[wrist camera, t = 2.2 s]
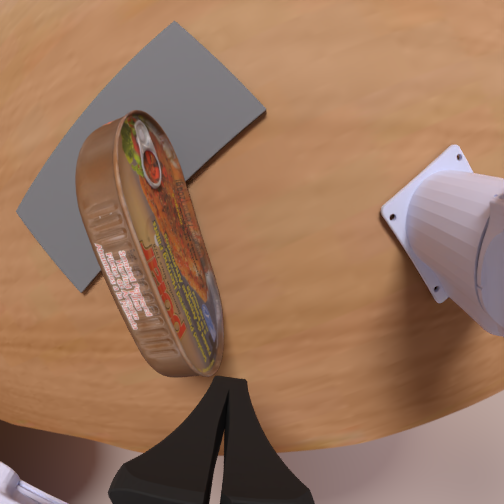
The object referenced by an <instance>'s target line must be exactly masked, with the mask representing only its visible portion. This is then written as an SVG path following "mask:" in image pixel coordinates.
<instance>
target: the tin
mask: <svg viewBox="0 0 504 504" xmlns="http://www.w3.org/2000/svg"><path fill="white" fill-rule="evenodd" d="M75 186H76V196H77V203H78V208H79V212H80V215H81V218H82V222H83V224H84V227H85V230H86V232H87V235H88V238H89V241H90V243H91V246H92V249H93V251H94V254H95V256H96V259H97V261H98V264H99V266H100V269H101V271H102V273H103V276H104V278H105V280H106V283H107V285H108V287H109V290H110V292H111V294H112V296H113V298H114V301H115V303H116V305H117V307H118V309H119V311H120V313H121V315H122V317H123V319H124V321H125V323H126V325H127V328H128V330H129V331H130V333H131V335H132V337H133V339H134V341H135V343H136V345H137V347H138V349H139V350H140V352H141V354H142V356H143V357H144V359H145V360H146V361H147V363H148V364H149V365H150V366H151V367H152V368H153V369H154V370H156V371H157V372H158V373H160V374H162V375H164V376H168V377H190V376H205V377H209V376H212V375H214V374H215V373H216V372H217V371H218V369H219V366H220V364H221V360H222V357H223V348H224V329H223V314H222V306H221V300H220V295H219V291H218V287H217V283H216V279H215V276H214V273H213V270H212V266H211V263H210V260H209V257H208V254H207V251H206V248H205V245H204V241H203V239H202V235H201V232H200V229H199V226H198V223H197V219H196V216H195V213H194V209H193V206H192V202H191V199H190V196H189V193H188V189H187V186H186V182H185V179H184V176H183V172H182V169H181V166H180V163H179V160H178V158H177V156H176V153H175V151H174V149H173V146H172V144H171V142H170V140H169V138H168V137H167V135H166V133H165V132H164V130H163V129H162V127H161V126H160V125H159V124H158V122H157V121H156V120H155V119H154V118H153V117H152V116H150V115H149V114H148V113H146V112H144V111H142V110H133V111H130V112H129V113H127V114H126V115H125V116H123V117H121V118H119V119H116V120H114V121H112V122H109V123H107V124H105V125H103V126H101V127H99V128H98V129H96V130H95V131H93V132H92V133H91V134H90V135H89V136H88V137H87V138H86V140H85V141H84V143H83V145H82V147H81V149H80V152H79V155H78V159H77V164H76V174H75Z"/></svg>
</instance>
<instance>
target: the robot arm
mask: <svg viewBox="0 0 504 504" xmlns="http://www.w3.org/2000/svg"><path fill="white" fill-rule="evenodd" d="M457 155H459V160H457ZM391 214H394V219H393V220H390V215H391ZM381 215H382V217H383V218H384V219H385V221H386V222H387V224H388V225H389V227H390V228H391V230H392V231H393V233H394V234H395V236H396V237H397V239H398V240H399V242H400V243H401V245H402V246H403V248H404V249H405V251H406V253H407V254H408V256H409V257H410V259H411V261H412V262H413V264H414V265H415V267H416V269H417V270H418V272H419V274H420V275H421V277H422V279H423V280H424V282H425V284H426V285H427V287H428V289H429V291H430V292H431V294H432V296H433V298H434V299H435V301H436V302H437V303H442V302H444V301H445V300H446V299H447V298H448V297H449V298H451V299H452V300H453V301H454V302H455V303H456V304H457V305H458V306H459V307H461V308H462V309H463V310H464V311H465V312H466V313H467V314H468V315H469V316H470V317H471V318H472V319H474V320H475V321H476V322H477V323H478V324H479V325H480V326H481V327H482V328H483V329H484V330H486V331H487V332H488V333H490V334H493V335H497V336H503V337H504V179H503V178H498V177H493V176H487V175H482V174H476V173H473V171H472V169H471V167H470V165H469V163H468V161H467V160H466V158H465V156H464V154H463V152H462V151H461V149H460V147H459V146H458V145H451V146H449V147H448V148H447V149H446V150H445V151H444V152H443V153H442V154H441V155H440V156H438V157H437V158H436V159H435V160H434V161H433V162H432V163H431V164H430V165H429V166H427V167H426V168H425V169H424V170H423V171H422V172H421V173H420V174H418V175H417V176H416V177H415V178H414V179H413V180H412V181H411V182H409V183H408V184H407V185H406V186H405V187H404V188H403V189H401V190H400V191H399V192H398V193H397V194H396V195H394V196H393V197H392V198H391V199H390V200H389V201H387V202H386V203H385V204H384V205H383V206H382V207H381ZM436 286H437V289H436V290H434V288H435V287H436ZM224 429H225V430H224ZM223 433H224V474H223V483H222V491H221V499H220V504H315V503H314V500H313V497H312V495H311V492H310V490H309V488H307V487H306V486H305V485H304V484H303V483H302V482H301V481H300V480H299V479H298V478H297V477H296V476H295V475H294V474H293V473H292V472H291V471H290V470H289V469H288V467H287V466H286V465H285V464H284V462H283V461H282V460H281V459H280V457H279V456H278V455H277V453H276V452H275V450H274V449H273V447H272V446H271V444H270V443H269V441H268V439H267V437H266V436H265V434H264V432H263V430H262V428H261V426H260V424H259V421H258V419H257V417H256V414H255V411H254V409H253V406H252V403H251V400H250V396H249V392H248V386H247V381H246V380H245V379H238V378H230V377H223V376H215V377H214V379H213V381H212V383H211V385H210V387H209V389H208V390H207V392H206V394H205V395H204V397H203V398H202V400H201V401H200V402H199V404H198V405H197V406H196V408H195V409H194V410H193V411H192V412H191V414H190V415H189V416H188V417H187V418H186V419H185V420H184V422H183V423H182V424H181V425H180V426H179V427H178V428H176V429H175V430H174V431H173V432H172V433H171V434H170V435H169V436H167V437H166V438H165V439H164V440H162V441H161V442H160V443H158V444H157V445H155V446H154V447H152V448H151V449H149V450H148V451H146V452H145V453H143V454H142V455H140V456H138V457H136V458H134V459H132V460H130V461H128V462H126V463H124V464H123V465H122V466H121V468H120V469H119V470H118V472H117V474H116V475H115V477H114V479H113V481H112V483H111V486H110V488H109V491H108V495H109V498H110V499H111V501H112V503H113V504H209V501H210V494H211V487H212V480H213V473H214V468H215V464H216V460H217V456H218V452H219V449H220V445H221V441H222V437H223ZM0 504H68V503H66V502H64V501H62V500H59V499H57V498H55V497H53V496H51V495H49V494H47V493H45V492H43V491H41V490H39V489H37V488H35V487H33V486H31V485H30V484H28V483H26V482H24V481H22V480H21V479H20V478H19V476H18V475H17V473H16V472H15V471H14V470H13V469H11V468H10V467H9V466H7V465H5V464H4V463H2V462H0Z"/></svg>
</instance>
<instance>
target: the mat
mask: <svg viewBox="0 0 504 504" xmlns="http://www.w3.org/2000/svg"><path fill="white" fill-rule="evenodd" d="M133 110H142V111H144V112H146V113H148V114H149V115H150V116H152V117H153V118H154V119H155V120H156V121H157V122H158V124H159V125H160V126H161V127H162V129H163V130H164V132H165V133H166V135H167V137H168V138H169V140H170V142H171V144H172V146H173V149H174V151H175V153H176V156H177V158H178V160H179V163H180V166H181V169H182V172H183V176H184V179H185V182H186V181H187V180H188V179H189V178H190V177H191V176H192V175H193V174H195V173H196V172H197V171H198V170H199V169H200V168H201V167H202V166H203V165H204V164H205V163H206V162H207V161H208V160H210V159H211V158H212V157H213V156H214V155H215V154H216V153H217V152H218V151H220V150H221V149H222V148H223V147H224V146H225V145H226V144H227V143H228V142H230V141H231V140H232V139H233V138H234V137H235V136H236V135H238V134H239V133H240V132H241V131H242V130H243V129H245V128H246V127H247V126H248V125H249V124H250V123H252V122H253V121H254V120H255V119H256V118H258V117H259V116H260V115H261V114H262V113H264V112H265V111H266V108H265V107H264V106H263V105H262V104H261V103H260V102H259V101H258V100H257V99H256V98H255V97H254V96H253V94H252V93H251V92H250V91H249V90H248V89H247V88H246V87H245V86H244V85H243V84H242V83H241V82H240V81H239V80H238V79H237V78H236V77H235V76H234V75H233V74H232V73H231V72H230V71H229V70H228V69H227V68H226V67H225V66H224V65H223V64H222V63H221V62H220V61H218V60H217V59H216V58H215V57H214V56H213V55H212V54H211V53H210V52H209V51H208V50H207V49H206V48H205V47H204V46H202V45H201V44H200V43H199V42H198V41H197V40H196V39H195V38H194V37H193V36H191V35H190V34H189V33H188V32H187V31H186V30H185V29H184V28H182V27H181V26H180V25H179V24H178V23H177V22H175V21H174V22H172V23H171V24H170V25H169V26H168V27H167V28H165V29H164V30H163V31H162V32H161V33H160V34H158V35H157V36H156V37H155V38H154V39H153V40H152V41H151V42H149V43H148V44H147V45H146V46H145V47H144V48H143V49H142V50H141V51H140V52H139V53H138V54H137V55H136V56H135V57H134V58H133V59H131V60H130V61H129V62H128V63H127V64H126V65H125V66H124V67H123V69H122V70H121V71H120V72H119V73H118V74H117V75H116V76H115V77H114V78H113V79H112V80H111V81H110V82H109V83H108V84H107V85H106V87H105V88H104V89H103V90H102V91H101V92H100V93H99V94H98V96H97V97H96V98H95V99H94V100H93V101H92V102H91V104H90V105H89V106H88V107H87V108H86V110H85V111H84V112H83V113H82V114H81V116H80V117H79V118H78V119H77V121H76V122H75V123H74V125H73V126H72V127H71V128H70V130H69V131H68V132H67V134H66V135H65V136H64V138H63V139H62V140H61V142H60V143H59V144H58V146H57V147H56V149H55V150H54V152H53V153H52V154H51V156H50V157H49V159H48V160H47V162H46V163H45V165H44V166H43V168H42V169H41V171H40V172H39V174H38V175H37V177H36V178H35V180H34V182H33V183H32V185H31V187H30V188H29V190H28V191H27V193H26V195H25V197H24V198H23V200H22V202H21V203H20V205H19V207H18V209H17V211H16V212H17V214H18V215H19V217H20V218H21V219H22V221H23V222H24V224H25V225H26V226H27V228H28V229H29V230H30V232H31V233H32V234H33V236H34V237H35V238H36V240H37V241H38V242H39V243H40V245H41V246H42V247H43V249H44V250H45V251H46V252H47V254H48V255H49V256H50V257H51V259H52V260H53V261H54V262H55V263H56V265H57V266H58V267H59V268H60V269H61V271H62V272H63V273H64V274H65V275H66V276H67V278H68V279H69V280H70V281H71V282H72V283H73V284H74V286H75V287H76V288H77V289H78V290H79V291H80V292H81V293H82V292H83V291H84V290H85V289H86V287H87V286H88V285H89V284H90V283H91V282H92V280H93V279H94V278H95V277H96V276H97V275H98V273H99V272H100V271H101V269H100V266H99V264H98V261H97V259H96V256H95V254H94V251H93V249H92V246H91V243H90V241H89V238H88V235H87V232H86V230H85V227H84V224H83V222H82V218H81V215H80V212H79V208H78V203H77V196H76V186H75V174H76V164H77V159H78V155H79V152H80V149H81V147H82V145H83V143H84V141H85V140H86V138H87V137H88V136H89V135H90V134H91V133H92V132H93V131H95V130H96V129H98V128H99V127H101V126H103V125H105V124H107V123H109V122H112V121H114V120H116V119H119V118H121V117H123V116H125V115H126V114H127V113H129V112H130V111H133Z"/></svg>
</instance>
